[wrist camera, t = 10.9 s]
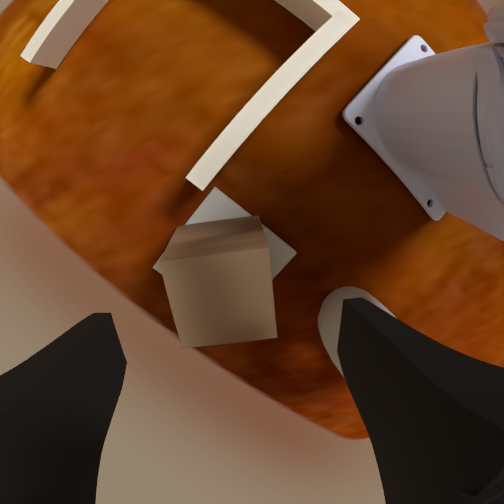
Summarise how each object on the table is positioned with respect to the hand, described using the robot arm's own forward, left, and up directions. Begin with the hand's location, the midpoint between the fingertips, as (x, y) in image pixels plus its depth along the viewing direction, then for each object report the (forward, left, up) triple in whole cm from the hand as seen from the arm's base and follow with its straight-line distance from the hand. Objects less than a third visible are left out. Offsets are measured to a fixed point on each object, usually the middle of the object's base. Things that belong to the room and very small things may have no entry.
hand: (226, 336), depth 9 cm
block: (0, +1, -9) cm, 9 cm away
